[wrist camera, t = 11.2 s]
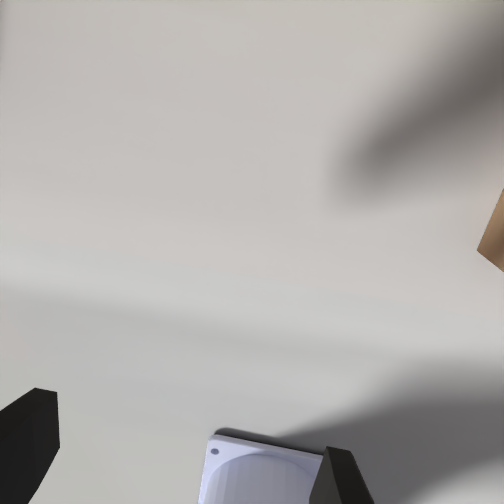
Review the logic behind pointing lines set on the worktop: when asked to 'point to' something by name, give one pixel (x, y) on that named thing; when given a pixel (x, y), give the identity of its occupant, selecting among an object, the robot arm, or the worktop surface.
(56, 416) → the robot arm
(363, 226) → the worktop surface
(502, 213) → the brown wooden frame
